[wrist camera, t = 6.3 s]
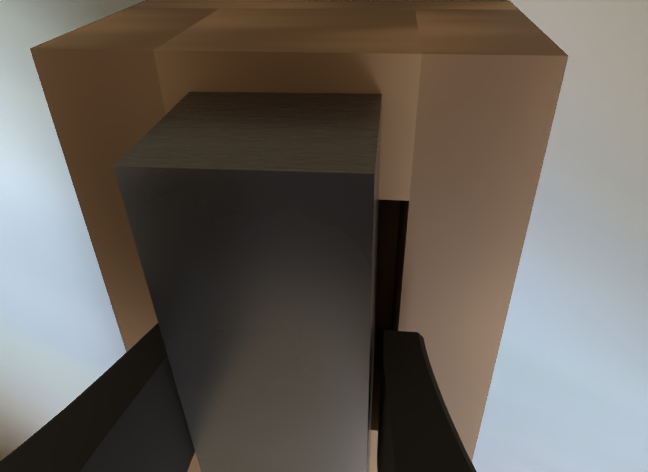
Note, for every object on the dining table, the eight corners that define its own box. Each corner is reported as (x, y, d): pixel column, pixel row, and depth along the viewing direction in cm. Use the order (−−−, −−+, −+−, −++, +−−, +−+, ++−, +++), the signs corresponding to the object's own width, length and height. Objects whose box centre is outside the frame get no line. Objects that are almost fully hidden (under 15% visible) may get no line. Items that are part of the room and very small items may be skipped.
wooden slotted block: (509, 1, 11) (568, 56, 7) (423, 513, 22) (429, 640, 18) (146, -1, 12) (30, 48, 8) (239, 493, 23) (208, 610, 19)
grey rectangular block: (386, 40, 10) (374, 174, 6) (375, 354, 15) (363, 565, 11) (241, 40, 11) (113, 166, 6) (276, 347, 16) (222, 547, 11)
